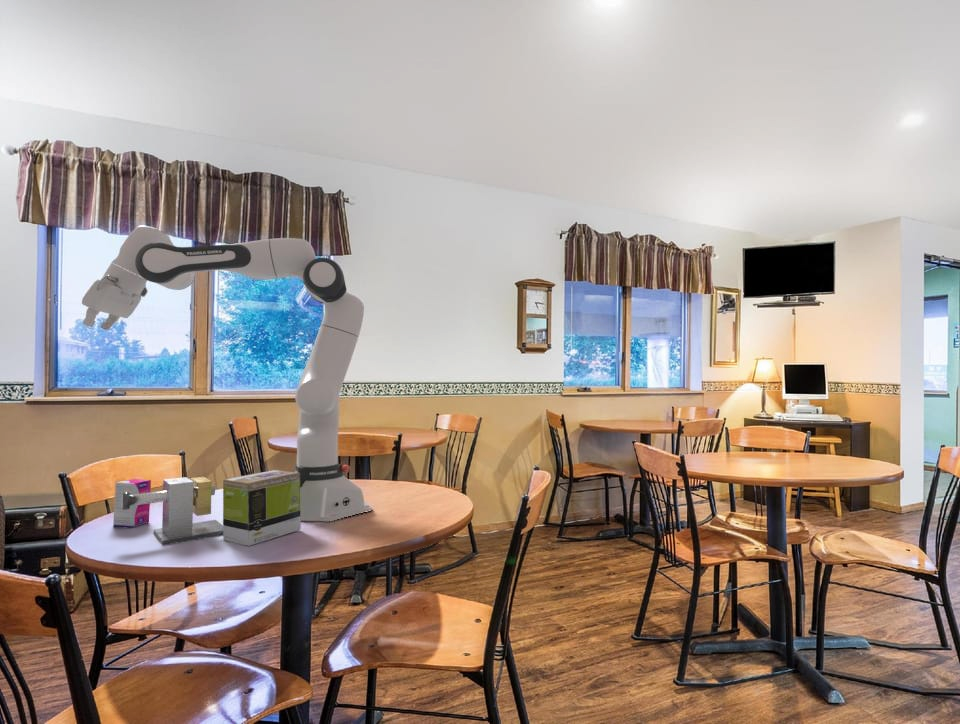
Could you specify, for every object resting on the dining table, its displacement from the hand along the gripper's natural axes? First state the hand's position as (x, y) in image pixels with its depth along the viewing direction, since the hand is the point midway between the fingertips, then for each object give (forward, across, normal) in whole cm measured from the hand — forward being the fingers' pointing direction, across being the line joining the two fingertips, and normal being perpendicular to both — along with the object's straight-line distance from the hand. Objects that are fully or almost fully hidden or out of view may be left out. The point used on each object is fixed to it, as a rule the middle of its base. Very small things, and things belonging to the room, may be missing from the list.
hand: (95, 327), depth 135 cm
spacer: (+29, -11, -46) cm, 56 cm away
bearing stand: (+34, -12, -47) cm, 59 cm away
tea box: (+27, -18, -62) cm, 70 cm away
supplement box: (+42, +1, -31) cm, 53 cm away
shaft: (+29, -14, -39) cm, 51 cm away
